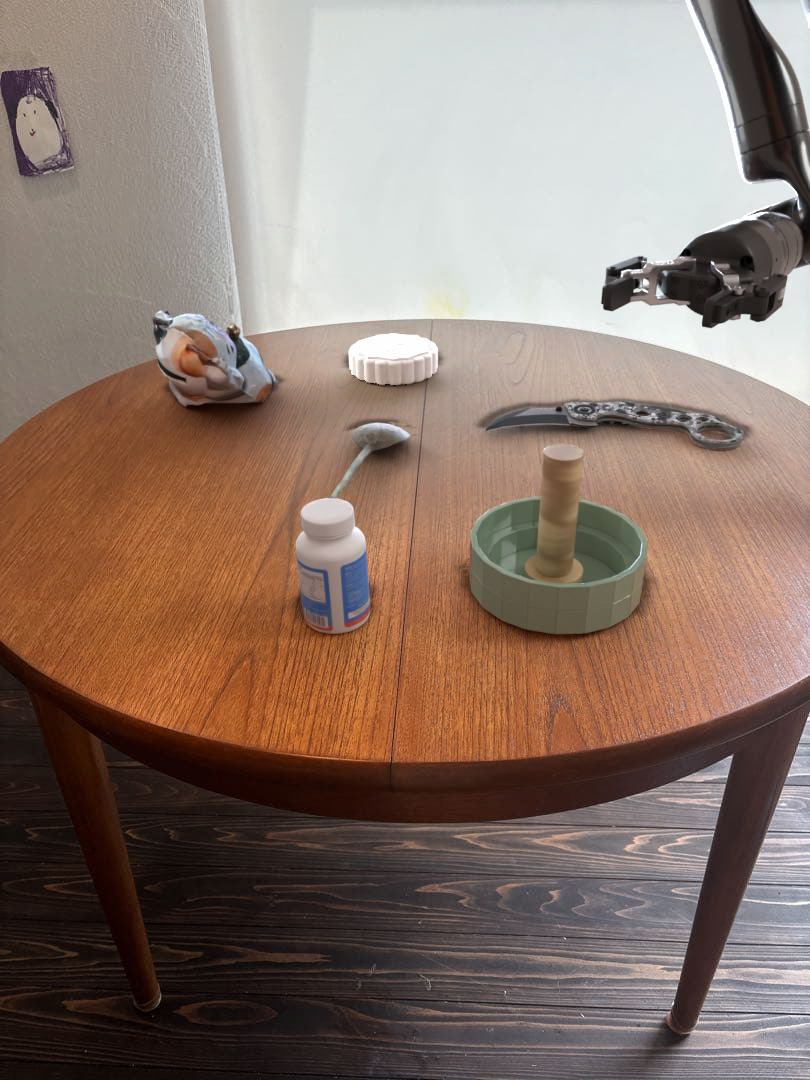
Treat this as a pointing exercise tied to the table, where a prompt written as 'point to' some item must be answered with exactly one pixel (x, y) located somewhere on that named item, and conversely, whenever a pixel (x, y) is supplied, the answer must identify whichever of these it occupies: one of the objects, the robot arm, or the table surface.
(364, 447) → the soupspoon
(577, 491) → the muddler
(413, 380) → the mooncake
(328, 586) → the pill bottle
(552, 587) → the bowl
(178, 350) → the lucky cat figurine
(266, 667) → the table surface
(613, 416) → the knife
